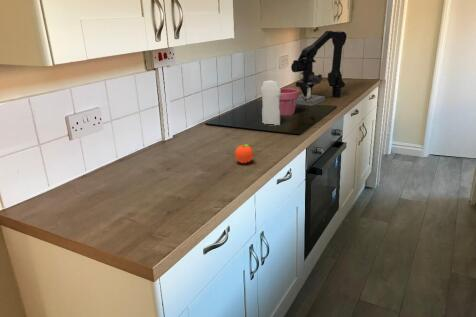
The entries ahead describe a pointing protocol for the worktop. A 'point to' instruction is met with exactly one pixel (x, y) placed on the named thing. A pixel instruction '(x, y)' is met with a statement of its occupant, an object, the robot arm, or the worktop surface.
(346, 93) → the worktop surface
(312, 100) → the hole plate
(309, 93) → the peg
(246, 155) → the clementine
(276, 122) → the tall pale column
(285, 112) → the plant pot
